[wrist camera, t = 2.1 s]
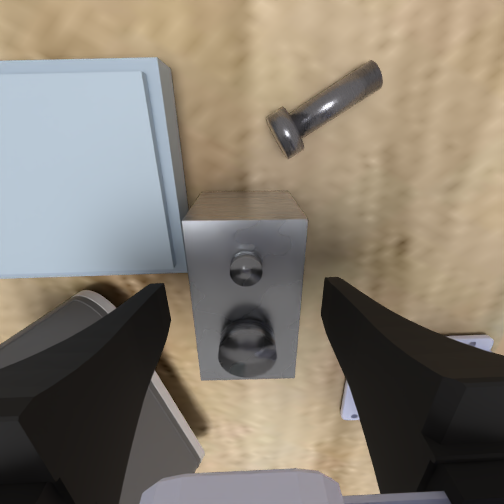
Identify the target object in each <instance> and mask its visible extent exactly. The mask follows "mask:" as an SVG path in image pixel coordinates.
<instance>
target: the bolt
mask: <svg viewBox="0 0 504 504" xmlns="http://www.w3.org/2000/svg"><path fill="white" fill-rule="evenodd" d="M382 83H383V80H382V74H381V71H380V69H379V67H378V65H377V64H376V63H375V62H374V61H372V60H370V61H368V62H367V63H365V64H364V65H362V66H360V67H359V68H357V69H356V70H354V71H353V72H351V73H350V74H348V75H347V76H345V77H344V78H342V79H341V80H339V81H338V82H336V83H335V84H333V85H332V86H330V87H329V88H327V89H326V90H324V91H323V92H321V93H320V94H318V95H317V96H315V97H314V98H312V99H311V100H309V101H308V102H306V103H305V104H303V105H302V106H300V107H299V108H297V109H296V110H294V111H293V112H291V113H290V114H289V113H288V112H287V110H286V109H285V108H284V107H281V108H280V109H278V110H277V111H275V112H274V113H272V114H271V115H269V116H268V117H266V120H267V123H268V125H269V127H270V130H271V132H272V134H273V136H274V138H275V139H276V141H277V143H278V145H279V147H280V148H281V150H282V152H283V153H284V155H285V156H286V158H287V159H289V158H291V157H292V156H294V155H295V154H297V153H299V152H300V151H302V150H303V149H304V145H303V141H302V138H303V137H305V136H307V135H308V134H310V133H311V132H313V131H314V130H316V129H318V128H319V127H321V126H322V125H324V124H325V123H327V122H329V121H330V120H332V119H333V118H335V117H336V116H338V115H340V114H341V113H343V112H344V111H346V110H347V109H349V108H351V107H352V106H354V105H355V104H357V103H358V102H360V101H362V100H363V99H365V98H366V97H368V96H370V95H371V94H373V93H374V92H376V91H377V90H379V89H380V88H381V87H382Z"/></svg>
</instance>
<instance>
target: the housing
mask: <svg viewBox="0 0 504 504" xmlns="http://www.w3.org/2000/svg"><path fill="white" fill-rule="evenodd" d="M182 227H183V235H184V243H185V251H186V260H187V268H188V276H189V284H190V293H191V301H192V309H193V317H194V326H195V334H196V342H197V351H198V359H199V367H200V375H201V380H239V379H277V378H295V367H296V355H297V343H298V332H299V320H300V309H301V297H302V285H303V274H304V262H305V250H306V239H307V227H308V218H307V217H306V215H305V214H304V213H303V211H302V210H301V208H300V207H299V206H298V204H297V203H296V201H295V200H294V199H293V197H292V196H291V194H290V193H289V192H288V191H226V192H201V194H200V195H199V197H198V198H197V199H196V201H195V202H194V204H193V205H192V207H191V208H190V210H189V211H188V213H187V214H186V216H185V217H184V218H183V220H182Z"/></svg>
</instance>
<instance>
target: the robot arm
mask: <svg viewBox="0 0 504 504" xmlns="http://www.w3.org/2000/svg"><path fill="white" fill-rule="evenodd" d="M321 317H322V320H323V324H324V328H325V331H326V334H327V336H328V339H329V341H330V343H331V346H332V348H333V350H334V353H335V355H336V357H337V359H338V362H339V364H340V366H341V368H342V371H343V373H344V375H345V377H346V383H345V389H344V395H343V400H342V406H341V412H340V414H341V417H342V419H344V420H360V422H361V425H362V429H363V432H364V435H365V438H366V442H367V446H368V449H369V453H370V456H371V460H372V463H373V467H374V471H375V475H376V478H377V482H378V486H379V490H380V494H373V495H353V496H342V494H341V490H340V487H339V483H337V482H336V481H335V480H333V479H332V478H330V477H328V476H326V475H324V474H323V473H321V472H319V471H315V470H306V469H296V468H294V469H274V470H253V471H232V472H212V473H191V474H181V475H176V476H171V477H166V478H162V479H161V480H159V481H158V482H157V483H155V484H154V485H152V486H151V487H150V488H148V489H147V490H146V491H144V492H143V493H142V496H141V500H140V504H504V356H503V355H499V354H496V353H493V352H492V351H490V350H491V348H492V346H493V343H494V340H493V339H492V338H491V337H490V336H488V335H464V336H443V335H441V334H438V333H436V332H434V331H431V330H429V329H427V328H424V327H422V326H420V325H418V324H416V323H414V322H412V321H410V320H408V319H406V318H404V317H402V316H400V315H398V314H396V313H394V312H392V311H391V310H389V309H387V308H386V307H384V306H382V305H381V304H379V303H377V302H376V301H374V300H373V299H371V298H369V297H368V296H366V295H365V294H363V293H362V292H360V291H359V290H357V289H356V288H355V287H353V286H352V285H350V284H349V283H347V282H346V281H344V280H343V279H341V278H339V277H325V280H324V290H323V299H322V308H321ZM170 323H171V317H170V312H169V306H168V301H167V296H166V290H165V285H164V283H156V284H149V285H148V286H146V287H145V288H143V289H142V290H140V291H139V292H138V293H136V294H135V295H134V296H132V297H131V298H130V299H128V300H127V301H126V302H124V303H123V304H121V305H120V306H119V307H117V308H116V309H114V310H113V311H111V312H110V313H109V314H107V315H106V316H104V317H103V318H101V319H100V320H98V321H97V322H95V323H93V324H92V325H90V326H89V327H87V328H85V329H84V330H82V331H80V332H78V333H76V334H75V335H73V336H71V337H69V338H67V339H66V340H64V341H62V342H59V343H57V344H55V345H53V346H51V347H49V348H47V349H45V350H43V351H41V352H39V353H37V354H35V355H32V356H30V357H28V358H25V359H23V360H21V361H18V362H16V363H14V364H11V365H9V366H6V367H4V368H1V369H0V504H119V501H120V496H121V492H122V487H123V482H124V478H125V473H126V469H127V465H128V460H129V456H130V452H131V447H132V443H133V439H134V436H135V432H136V428H137V424H138V420H139V416H140V413H141V409H142V405H143V402H144V398H145V395H146V392H147V389H148V386H149V384H150V381H151V379H152V376H153V374H154V371H155V369H156V366H157V363H158V361H159V358H160V356H161V353H162V351H163V348H164V345H165V343H166V340H167V336H168V332H169V327H170Z"/></svg>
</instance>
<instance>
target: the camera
mask: <svg viewBox="0 0 504 504" xmlns="http://www.w3.org/2000/svg"><path fill="white" fill-rule="evenodd" d="M114 309H116V307H115V306H114V305H113V304H112V303H111V302H109V301H108V300H107V299H106V298H104V297H103V296H101V295H100V294H98V293H96V292H93V291H90V290H82V291H80V292H78V293H77V294H75V295H74V296H72V297H71V298H70V299H69V300H67V301H66V302H64V303H63V304H61V305H60V306H58V307H57V308H55V309H53V310H52V311H50V312H49V313H47V314H46V315H44V316H43V317H41V318H40V319H38V320H37V321H35V322H34V323H32V324H31V325H29V326H27V327H26V328H24V329H23V330H21V331H20V332H18V333H17V334H15V335H14V336H12V337H11V338H9V339H8V340H6V341H4V342H3V343H1V344H0V369H1V368H4V367H6V366H9V365H11V364H14V363H16V362H18V361H21V360H23V359H25V358H28V357H30V356H32V355H35V354H37V353H39V352H41V351H43V350H45V349H47V348H49V347H51V346H53V345H55V344H57V343H59V342H62V341H64V340H66V339H67V338H69V337H71V336H73V335H75V334H76V333H78V332H80V331H82V330H84V329H85V328H87V327H89V326H90V325H92V324H93V323H95V322H97V321H98V320H100V319H101V318H103V317H104V316H106V315H107V314H109V313H110V312H111V311H113V310H114ZM204 455H205V452H204V450H203V448H202V446H201V445H200V443H199V441H198V440H197V437H196V436H195V434H194V433H193V432H192V430H191V428H190V427H189V425H188V423H187V422H186V420H185V419H184V417H183V415H182V414H181V412H180V410H179V409H178V407H177V406H176V404H175V402H174V401H173V399H172V397H171V396H170V394H169V392H168V391H167V389H166V388H165V386H164V384H163V383H162V381H161V379H160V378H159V376H158V375H157V373H156V371H154V374H153V376H152V379H151V381H150V384H149V386H148V389H147V392H146V395H145V398H144V402H143V405H142V409H141V413H140V416H139V420H138V424H137V428H136V432H135V436H134V439H133V443H132V447H131V452H130V456H129V460H128V465H127V469H126V473H125V478H124V482H123V487H122V492H121V496H120V501H119V504H140V500H141V496H142V493H143V492H144V491H146V490H147V489H148V488H150V487H151V486H152V485H154V484H155V483H157V482H158V481H159V480H161V479H162V478H166V477H171V476H176V475H181V474H191V473H195V471H196V469H197V468H198V466H199V464H200V463H201V461H202V459H203V457H204Z"/></svg>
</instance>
